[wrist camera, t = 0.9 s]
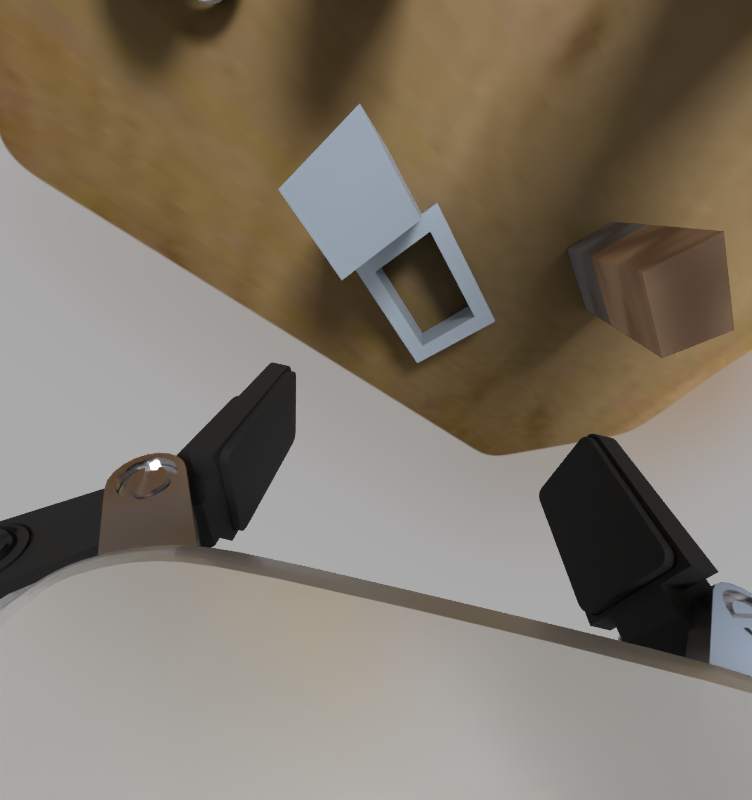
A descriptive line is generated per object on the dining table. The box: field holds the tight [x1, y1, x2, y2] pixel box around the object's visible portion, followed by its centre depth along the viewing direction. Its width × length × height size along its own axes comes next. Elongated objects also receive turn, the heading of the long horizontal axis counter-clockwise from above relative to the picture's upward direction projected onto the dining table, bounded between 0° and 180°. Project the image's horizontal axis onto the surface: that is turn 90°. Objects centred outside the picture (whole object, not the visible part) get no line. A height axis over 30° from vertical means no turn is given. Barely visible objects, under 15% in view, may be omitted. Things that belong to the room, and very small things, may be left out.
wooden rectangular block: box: [566, 222, 734, 358], centre depth 24 cm, size 4×7×12 cm, turn 35°
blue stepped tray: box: [279, 104, 495, 363], centre depth 25 cm, size 9×18×14 cm, turn 35°
